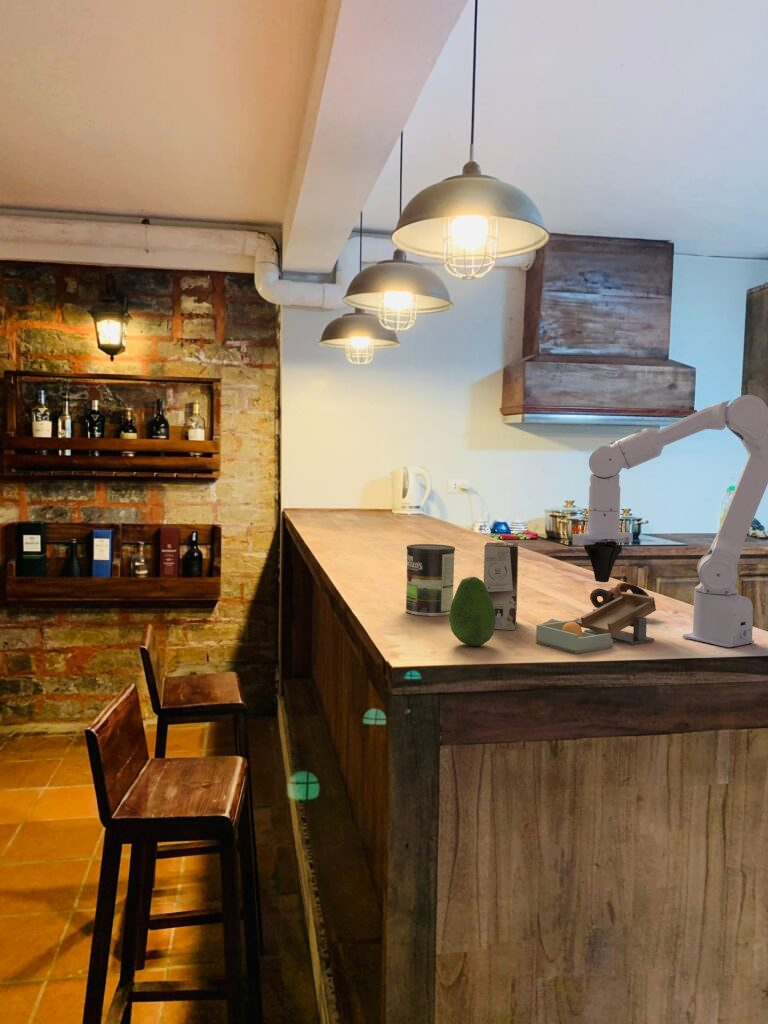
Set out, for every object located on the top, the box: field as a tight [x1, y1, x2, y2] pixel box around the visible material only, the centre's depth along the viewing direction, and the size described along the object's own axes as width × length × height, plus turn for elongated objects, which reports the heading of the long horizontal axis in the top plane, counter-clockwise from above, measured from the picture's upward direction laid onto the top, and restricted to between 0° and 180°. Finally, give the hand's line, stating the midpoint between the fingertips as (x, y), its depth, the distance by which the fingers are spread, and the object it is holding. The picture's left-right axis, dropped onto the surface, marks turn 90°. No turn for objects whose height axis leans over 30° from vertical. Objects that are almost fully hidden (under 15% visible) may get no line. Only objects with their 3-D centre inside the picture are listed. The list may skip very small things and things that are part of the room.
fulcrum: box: [583, 608, 655, 646], centre depth 138 cm, size 11×6×4 cm, turn 32°
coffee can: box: [405, 543, 456, 617], centre depth 160 cm, size 10×10×14 cm
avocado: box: [448, 576, 496, 647], centre depth 129 cm, size 8×8×12 cm
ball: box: [562, 622, 583, 638], centre depth 131 cm, size 4×4×4 cm
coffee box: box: [483, 541, 519, 631], centre depth 147 cm, size 9×6×16 cm
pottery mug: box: [589, 582, 650, 609], centre depth 157 cm, size 12×10×8 cm
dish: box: [535, 620, 614, 655], centre depth 131 cm, size 9×9×3 cm
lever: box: [542, 591, 657, 635], centre depth 139 cm, size 14×16×4 cm
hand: (601, 581), depth 143 cm, fingers closed
